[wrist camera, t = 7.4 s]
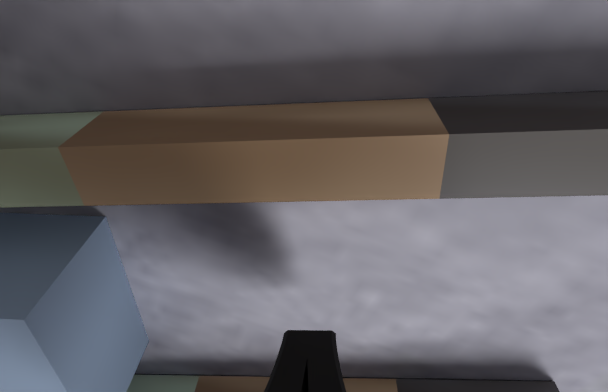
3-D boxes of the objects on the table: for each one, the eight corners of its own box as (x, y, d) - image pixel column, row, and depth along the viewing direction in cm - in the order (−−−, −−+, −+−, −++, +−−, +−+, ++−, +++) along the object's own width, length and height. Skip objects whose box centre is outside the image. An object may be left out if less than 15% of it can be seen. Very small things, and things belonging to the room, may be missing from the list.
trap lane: (543, 402, 16) (568, 457, 14) (-89, 389, 18) (-131, 435, 17) (703, 86, 9) (790, 123, 7) (-373, 130, 11) (-497, 165, 9)
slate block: (150, 336, 15) (101, 448, 12) (3, 329, 16) (-86, 436, 12) (108, 213, 12) (24, 320, 9) (-78, 206, 12) (-230, 307, 9)
